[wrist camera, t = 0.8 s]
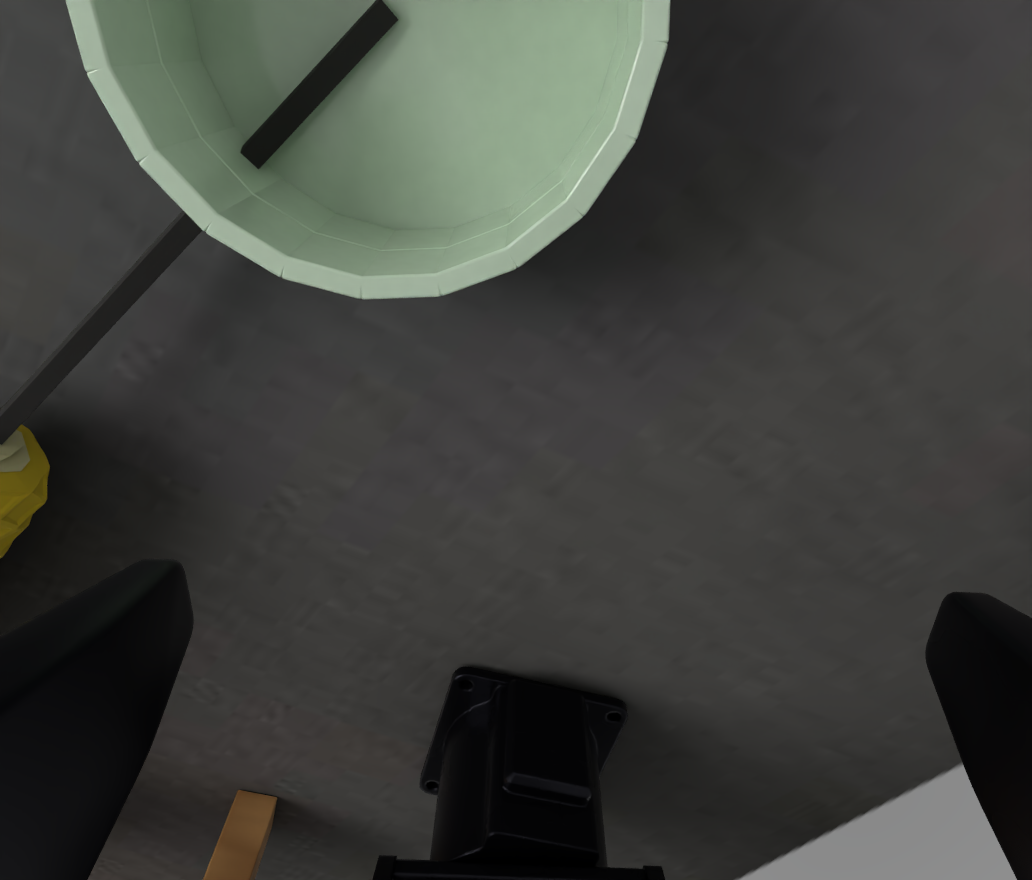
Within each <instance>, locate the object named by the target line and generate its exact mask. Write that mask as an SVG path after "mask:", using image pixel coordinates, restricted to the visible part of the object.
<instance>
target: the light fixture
mask: <svg viewBox="0 0 1032 880" xmlns="http://www.w3.org/2000/svg"><path fill="white" fill-rule="evenodd" d="M397 21H398V18H397V17H396V16H395V15H394V14H393V12H392V11H391V10H390V9H389V8H388V6H387V5H386V4H385V3H384V2H383V1H382V0H376V1H375V2H374V3H373V4H372V5H371V6H370V7H369V8H368V9H367V11H366V12H365V13H364V14H363V15H362V16H361V17H360V18H359V19H358V20H357V21H356V23H355V24H354V25H353V26H352V27H351V28H350V29H349V30H348V31H347V32H346V33H345V35H344V36H343V37H342V38H341V39H340V40H339V41H338V42H337V43H336V44H335V45H334V47H333V48H332V49H331V50H330V51H329V52H328V53H327V54H326V55H325V56H324V57H323V59H322V60H321V61H320V62H319V63H318V64H317V65H316V66H315V67H314V68H313V69H312V71H311V72H310V73H309V74H308V75H307V76H306V77H305V78H304V79H303V80H302V81H301V83H300V84H299V85H298V86H297V87H296V88H295V89H294V90H293V91H292V92H291V93H290V95H289V96H288V97H287V98H286V99H285V100H284V101H283V102H282V103H281V104H280V105H279V107H278V108H277V109H276V110H275V111H274V112H273V113H272V114H271V115H270V116H269V117H268V119H267V120H266V121H265V122H264V123H263V124H262V125H261V126H260V127H259V128H258V129H257V131H256V132H255V133H254V134H253V135H252V136H251V137H250V138H249V139H248V140H247V141H246V143H245V144H244V145H243V146H242V148H241V152H240V153H241V154H242V155H243V156H244V157H245V158H246V159H247V160H249V161H250V162H251V163H252V164H253V165H254V166H255V167H256V168H257V169H260V168H261V167H262V166H263V165H264V163H265V162H266V161H267V160H268V159H269V158H270V157H271V156H272V155H273V154H274V153H275V152H276V151H277V149H278V148H279V147H280V146H281V145H282V144H283V143H284V142H285V141H286V140H287V139H288V138H289V137H290V136H291V134H292V133H293V132H294V131H295V130H296V129H297V128H298V127H299V126H300V125H301V124H302V123H303V122H304V121H305V119H306V118H307V117H308V116H309V115H310V114H311V113H312V112H313V111H314V110H315V109H316V108H317V107H318V106H319V104H320V103H321V102H322V101H323V100H324V99H325V98H326V97H327V96H328V95H329V94H330V93H331V92H332V90H333V89H334V88H335V87H336V86H337V85H338V84H339V83H340V82H341V81H342V80H343V79H344V78H345V77H346V75H347V74H348V73H349V72H350V71H351V70H352V69H353V68H354V67H355V66H356V65H357V64H358V63H359V62H360V60H361V59H362V58H363V57H364V56H365V55H366V54H367V53H368V52H369V51H370V50H371V49H372V48H373V47H374V45H375V44H376V43H377V42H378V41H379V40H380V39H381V38H382V37H383V36H384V35H385V34H386V33H387V32H388V30H389V29H390V28H391V27H392V26H393V25H394V24H395V23H396V22H397ZM201 231H202V229H201V228H200V227H199V226H198V225H197V224H196V223H195V222H194V221H193V220H192V219H191V218H190V217H189V216H188V215H187V214H186V213H185V212H184V211H182V212H181V213H180V214H179V216H178V217H177V218H176V219H175V220H174V221H173V222H172V223H171V224H170V225H169V226H168V228H167V229H166V230H165V231H164V232H163V233H162V234H161V235H160V236H159V237H158V238H157V240H156V241H155V242H154V243H153V244H152V245H151V246H150V247H149V248H148V249H147V250H146V252H145V253H144V254H143V255H142V256H141V257H140V258H139V259H138V260H137V261H136V262H135V264H134V265H133V266H132V267H131V268H130V269H129V270H128V271H127V272H126V273H125V274H124V276H123V277H122V278H121V279H120V280H119V281H118V282H117V283H116V284H115V285H114V286H113V288H112V289H111V290H110V291H109V292H108V293H107V294H106V295H105V296H104V297H103V298H102V300H101V301H100V302H99V303H98V304H97V305H96V306H95V307H94V308H93V309H92V310H91V312H90V313H89V314H88V315H87V316H86V317H85V318H84V319H83V320H82V321H81V322H80V324H79V325H78V326H77V327H76V328H75V329H74V330H73V331H72V332H71V333H70V334H69V336H68V337H67V338H66V339H65V340H64V341H63V342H62V343H61V344H60V345H59V346H58V348H57V349H56V350H55V351H54V352H53V353H52V354H51V355H50V356H49V357H48V358H47V360H46V361H45V362H44V363H43V364H42V365H41V366H40V367H39V368H38V369H37V370H36V372H35V373H34V374H33V375H32V376H31V377H30V378H29V379H28V380H27V381H26V382H25V384H24V385H23V386H22V387H21V388H20V389H19V390H18V391H17V392H16V393H15V394H14V396H13V397H12V398H11V399H10V400H9V401H8V402H7V403H6V404H5V405H4V406H3V408H2V409H1V410H0V559H1V558H2V557H3V556H4V554H5V553H6V552H7V551H8V549H9V548H10V546H11V544H12V542H13V540H14V539H15V538H16V537H17V536H18V535H19V534H20V533H21V532H22V531H23V530H24V529H25V528H26V527H27V526H28V525H29V523H30V520H31V517H32V515H33V513H34V512H36V511H37V510H38V509H39V508H40V507H41V506H42V505H44V504H45V502H46V500H47V480H48V475H49V470H50V466H49V463H48V460H47V458H46V456H45V453H44V452H43V450H42V449H41V448H40V446H39V444H38V442H37V440H36V439H35V437H34V435H33V434H32V432H31V431H30V429H28V428H26V427H25V426H23V425H22V423H23V422H24V421H25V420H26V419H27V418H28V417H29V415H30V414H31V413H32V412H33V411H34V410H35V409H36V408H37V407H38V406H39V405H40V404H41V403H42V402H43V400H44V399H45V398H46V397H47V396H48V395H49V394H50V393H51V392H52V391H53V390H54V389H55V388H56V387H57V385H58V384H59V383H60V382H61V381H62V380H63V379H64V378H65V377H66V376H67V375H68V374H69V373H70V372H71V370H72V369H73V368H74V367H75V366H76V365H77V364H78V363H79V362H80V361H81V360H82V359H83V358H84V357H85V355H86V354H87V353H88V352H89V351H90V350H91V349H92V348H93V347H94V346H95V345H96V344H97V343H98V341H99V340H100V339H101V338H102V337H103V336H104V335H105V334H106V333H107V332H108V331H109V330H110V329H111V328H112V326H113V325H114V324H115V323H116V322H117V321H118V320H119V319H120V318H121V317H122V316H123V315H124V314H125V313H126V311H127V310H128V309H129V308H130V307H131V306H132V305H133V304H134V303H135V302H136V301H137V300H138V299H139V298H140V296H141V295H142V294H143V293H144V292H145V291H146V290H147V289H148V288H149V287H150V286H151V285H152V284H153V282H154V281H155V280H156V279H157V278H158V277H159V276H160V275H161V274H162V273H163V272H164V271H165V270H166V269H167V267H168V266H169V265H170V264H171V263H172V262H173V261H174V260H175V259H176V258H177V257H178V256H179V255H180V254H181V252H182V251H183V250H184V249H185V248H186V247H187V246H188V245H189V244H190V243H191V242H192V241H193V240H194V239H195V237H196V236H197V235H198V234H199V233H200V232H201Z"/></svg>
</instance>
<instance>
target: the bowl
mask: <svg viewBox="0 0 1032 880" xmlns="http://www.w3.org/2000/svg"><path fill="white" fill-rule="evenodd" d="M375 1H376V0H66V4H67V7H68V11H69V15H70V18H71V22H72V25H73V29H74V32H75V36H76V40H77V43H78V47H79V50H80V54H81V58H82V61H83V65H84V68H85V70H86V71H87V72H88V73H87V76H88V77H89V79H90V81H91V83H92V84H93V86H94V88H95V90H96V91H97V93H98V95H99V97H100V98H101V100H102V102H103V104H104V105H105V107H106V109H107V111H108V112H109V114H110V116H111V118H112V119H113V121H114V123H115V125H116V126H117V128H118V130H119V132H120V133H121V135H122V137H123V139H124V140H125V142H126V144H127V146H128V147H129V149H130V151H131V153H132V154H133V156H134V158H135V159H136V161H137V162H139V165H140V166H141V167H142V168H143V169H144V170H145V171H146V172H147V173H148V174H149V175H150V176H151V177H152V179H153V180H154V181H155V182H156V183H157V184H158V185H159V186H160V187H161V188H162V189H163V190H164V191H165V192H166V193H167V194H168V195H169V196H170V197H171V198H172V199H173V200H174V201H175V202H176V203H177V204H178V205H179V206H180V207H181V208H182V209H183V211H184V212H185V213H186V214H187V215H188V216H189V217H190V218H191V219H192V220H193V221H194V222H195V223H196V224H197V225H198V226H199V227H200V228H201V229H202V230H203V231H206V233H207V234H208V235H210V236H212V237H213V238H215V239H217V240H218V241H220V242H222V243H223V244H225V245H227V246H228V247H230V248H232V249H233V250H235V251H237V252H238V253H240V254H242V255H243V256H245V257H247V258H248V259H250V260H252V261H253V262H255V263H257V264H258V265H260V266H262V267H263V268H265V269H267V270H268V271H270V272H272V273H273V274H275V275H277V276H278V277H281V276H282V278H283V279H286V280H290V281H293V282H297V283H301V284H305V285H308V286H312V287H316V288H320V289H323V290H327V291H331V292H335V293H338V294H342V295H346V296H349V297H353V298H357V299H361V298H362V299H364V300H368V299H394V298H420V297H439V296H441V295H442V296H445V295H448V294H450V293H453V292H456V291H459V290H461V289H464V288H467V287H470V286H472V285H475V284H478V283H481V282H483V281H486V280H489V279H491V278H494V277H497V276H500V275H502V274H505V273H508V272H511V271H513V270H515V269H516V268H517V267H521V266H522V265H523V264H525V263H526V262H527V261H528V260H530V259H531V258H532V257H533V256H535V255H536V254H537V253H539V252H540V251H541V250H542V249H544V248H545V247H546V246H547V245H549V244H550V243H551V242H553V241H554V240H555V239H556V238H558V237H559V236H560V235H562V234H563V233H564V232H565V231H567V230H568V229H569V228H570V227H572V226H573V225H574V224H576V223H577V222H578V221H579V220H581V219H582V217H583V215H586V214H587V212H588V211H589V209H590V208H591V206H592V205H593V204H594V202H595V201H596V199H597V198H598V196H599V195H600V193H601V192H602V191H603V189H604V188H605V186H606V185H607V183H608V182H609V180H610V179H611V177H612V176H613V175H614V173H615V172H616V170H617V169H618V167H619V166H620V164H621V163H622V162H623V160H624V159H625V157H626V156H627V154H628V153H629V151H630V150H631V148H632V147H633V146H634V144H635V142H636V140H635V139H637V138H638V136H639V133H640V130H641V127H642V123H643V120H644V117H645V114H646V111H647V108H648V105H649V102H650V99H651V96H652V93H653V90H654V87H655V84H656V81H657V78H658V75H659V72H660V69H661V66H662V63H663V60H664V57H665V54H666V50H667V47H668V44H667V42H668V41H669V28H670V5H671V0H382V1H383V2H384V3H385V4H386V5H387V6H388V8H389V9H390V10H391V11H392V12H393V14H394V15H395V16H396V17H397V18H398V21H397V22H396V23H395V24H394V25H393V26H392V27H391V28H390V29H389V30H388V32H387V33H386V34H385V35H384V36H383V37H382V38H381V39H380V40H379V41H378V42H377V43H376V44H375V45H374V47H373V48H372V49H371V50H370V51H369V52H368V53H367V54H366V55H365V56H364V57H363V58H362V59H361V60H360V62H359V63H358V64H357V65H356V66H355V67H354V68H353V69H352V70H351V71H350V72H349V73H348V74H347V75H346V77H345V78H344V79H343V80H342V81H341V82H340V83H339V84H338V85H337V86H336V87H335V88H334V89H333V90H332V92H331V93H330V94H329V95H328V96H327V97H326V98H325V99H324V100H323V101H322V102H321V103H320V104H319V106H318V107H317V108H316V109H315V110H314V111H313V112H312V113H311V114H310V115H309V116H308V117H307V118H306V119H305V121H304V122H303V123H302V124H301V125H300V126H299V127H298V128H297V129H296V130H295V131H294V132H293V133H292V134H291V136H290V137H289V138H288V139H287V140H286V141H285V142H284V143H283V144H282V145H281V146H280V147H279V148H278V149H277V151H276V152H275V153H274V154H273V155H272V156H271V157H270V158H269V159H268V160H267V161H266V162H265V163H264V165H263V166H262V167H261V168H260V169H257V168H256V167H255V166H254V165H253V164H252V163H251V162H250V161H249V160H247V159H246V158H245V157H244V156H243V155H242V154H241V153H240V152H241V148H242V146H243V145H244V144H245V143H246V141H247V140H248V139H249V138H250V137H251V136H252V135H253V134H254V133H255V132H256V131H257V129H258V128H259V127H260V126H261V125H262V124H263V123H264V122H265V121H266V120H267V119H268V117H269V116H270V115H271V114H272V113H273V112H274V111H275V110H276V109H277V108H278V107H279V105H280V104H281V103H282V102H283V101H284V100H285V99H286V98H287V97H288V96H289V95H290V93H291V92H292V91H293V90H294V89H295V88H296V87H297V86H298V85H299V84H300V83H301V81H302V80H303V79H304V78H305V77H306V76H307V75H308V74H309V73H310V72H311V71H312V69H313V68H314V67H315V66H316V65H317V64H318V63H319V62H320V61H321V60H322V59H323V57H324V56H325V55H326V54H327V53H328V52H329V51H330V50H331V49H332V48H333V47H334V45H335V44H336V43H337V42H338V41H339V40H340V39H341V38H342V37H343V36H344V35H345V33H346V32H347V31H348V30H349V29H350V28H351V27H352V26H353V25H354V24H355V23H356V21H357V20H358V19H359V18H360V17H361V16H362V15H363V14H364V13H365V12H366V11H367V9H368V8H369V7H370V6H371V5H372V4H373V3H374V2H375Z"/></svg>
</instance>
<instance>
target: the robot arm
mask: <svg viewBox="0 0 1032 880" xmlns="http://www.w3.org/2000/svg"><path fill="white" fill-rule="evenodd" d="M193 623H194V619H193V610H192V605H191V600H190V595H189V590H188V585H187V580H186V574H185V571H184V568H183V566H182V564H181V563H180V562H178V561H177V560H169V559H143V560H141V561H138V562H137V563H135V564H133V565H131V566H129V567H127V568H125V569H124V570H122V571H120V572H118V573H116V574H114V575H112V576H111V577H109V578H107V579H105V580H103V581H101V582H99V583H98V584H96V585H94V586H92V587H90V588H88V589H86V590H85V591H83V592H81V593H79V594H77V595H75V596H73V597H72V598H70V599H68V600H66V601H64V602H62V603H60V604H58V605H57V606H55V607H53V608H51V609H49V610H47V611H45V612H44V613H42V614H40V615H38V616H36V617H34V618H32V619H31V620H29V621H27V622H25V623H23V624H21V625H19V626H18V627H16V628H14V629H12V630H10V631H8V632H6V633H5V634H3V635H1V636H0V880H87V879H88V877H89V875H90V873H91V871H92V869H93V867H94V865H95V863H96V861H97V859H98V857H99V855H100V853H101V851H102V849H103V847H104V845H105V842H106V840H107V838H108V836H109V834H110V832H111V830H112V828H113V826H114V824H115V822H116V820H117V818H118V816H119V814H120V812H121V810H122V808H123V806H124V804H125V802H126V799H127V797H128V795H129V793H130V791H131V789H132V787H133V785H134V783H135V781H136V779H137V777H138V775H139V773H140V771H141V768H142V766H143V764H144V762H145V760H146V758H147V755H148V753H149V751H150V748H151V746H152V743H153V740H154V738H155V735H156V733H157V730H158V727H159V724H160V722H161V719H162V716H163V713H164V710H165V708H166V705H167V702H168V699H169V697H170V694H171V691H172V688H173V685H174V683H175V680H176V677H177V674H178V671H179V669H180V666H181V663H182V660H183V657H184V655H185V652H186V649H187V646H188V644H189V641H190V638H191V635H192V630H193ZM925 653H926V663H927V667H928V670H929V673H930V675H931V678H932V681H933V684H934V686H935V689H936V692H937V694H938V697H939V700H940V703H941V705H942V708H943V711H944V713H945V716H946V719H947V722H948V724H949V727H950V730H951V732H952V735H953V738H954V741H955V743H956V746H957V749H958V751H959V754H960V757H961V760H962V762H963V765H964V767H965V770H966V772H967V775H968V777H969V780H970V782H971V785H972V787H973V789H974V791H975V794H976V796H977V798H978V800H979V802H980V805H981V807H982V809H983V811H984V813H985V815H986V817H987V819H988V821H989V823H990V825H991V827H992V829H993V831H994V833H995V835H996V837H997V840H998V842H999V844H1000V845H1001V848H1002V850H1003V852H1004V854H1005V856H1006V858H1007V860H1008V862H1009V864H1010V866H1011V868H1012V870H1013V872H1014V874H1015V876H1016V878H1017V880H1032V618H1030V617H1029V616H1027V615H1025V614H1023V613H1021V612H1019V611H1018V610H1016V609H1014V608H1012V607H1010V606H1009V605H1007V604H1005V603H1003V602H1001V601H1000V600H998V599H996V598H994V597H992V596H990V595H988V594H984V593H970V592H952V593H950V594H948V595H947V596H946V597H945V598H944V599H943V601H942V603H941V606H940V609H939V611H938V614H937V617H936V620H935V622H934V625H933V628H932V631H931V633H930V636H929V639H928V642H927V645H926V652H925ZM463 680H468V681H470V682H464V681H463ZM612 712H617V713H612ZM627 718H628V714H627V707H626V704H625V703H624V702H623V701H621V700H619V699H615V698H611V697H606V696H601V695H597V694H592V693H588V692H583V691H578V690H574V689H569V688H565V687H560V686H555V685H551V684H546V683H542V682H537V681H532V680H528V679H523V678H519V677H514V676H509V675H505V674H500V673H496V672H491V671H486V670H482V669H477V668H473V667H461V668H458V669H457V670H455V672H454V674H453V676H452V679H451V683H450V686H449V689H448V692H447V695H446V698H445V701H444V704H443V707H442V710H441V714H440V717H439V720H438V723H437V726H436V729H435V732H434V735H433V738H432V742H431V745H430V748H429V751H428V754H427V757H426V760H425V763H424V766H423V770H422V773H421V778H420V788H421V790H422V791H424V792H425V793H428V794H433V795H438V798H437V806H436V814H435V822H434V830H433V838H432V847H431V855H430V860H406V859H397V856H386V855H379V858H378V861H377V865H376V869H375V872H374V876H373V880H665V877H664V873H663V870H662V867H661V866H643V869H636V868H610V867H607V857H606V847H605V836H604V825H603V814H602V803H601V792H600V781H599V777H600V775H601V772H602V770H603V768H604V766H605V764H606V762H607V760H608V758H609V756H610V754H611V752H612V750H613V748H614V746H615V744H616V742H617V740H618V738H619V736H620V733H621V731H622V729H623V727H624V725H625V723H626V721H627Z"/></svg>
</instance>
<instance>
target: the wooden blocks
mask: <svg viewBox="0 0 1032 880" xmlns="http://www.w3.org/2000/svg"><path fill="white" fill-rule="evenodd" d="M276 803H277V797H273V796H268V795H263V794H257V793H252V792H247V791H242V790H238V791H237V794H236V796H235V799H234V801H233V804H232V807H231V809H230V812H229V814H228V817H227V819H226V822H225V824H224V827H223V830H222V832H221V835H220V837H219V840H218V842H217V845H216V847H215V850H214V853H213V855H212V858H211V860H210V863H209V865H208V868H207V870H206V873H205V876H204V878H203V880H255V877H256V874H257V871H258V868H259V865H260V862H261V859H262V856H263V853H264V850H265V847H266V844H267V841H268V837H269V834H270V831H271V828H272V824H273V818H274V813H275V808H276Z"/></svg>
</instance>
